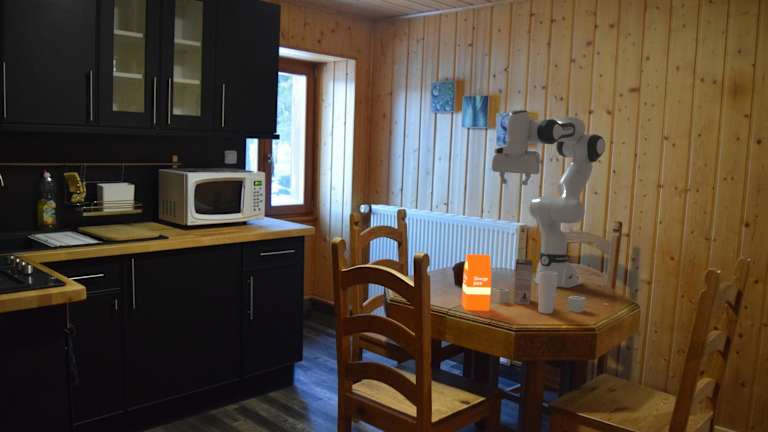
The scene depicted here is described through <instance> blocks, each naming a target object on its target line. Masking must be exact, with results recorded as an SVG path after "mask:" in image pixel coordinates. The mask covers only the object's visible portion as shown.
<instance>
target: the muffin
mask: <svg viewBox="0 0 768 432" xmlns="http://www.w3.org/2000/svg"><path fill="white" fill-rule="evenodd" d="M465 261H466V260H464V261H459V262H456V263H455V264H454V265H453V266H452V268H451V270H452V272H453V273H452V274H453V280H454V285H455V286H457V287H462V288H463V275H464V265H465Z"/></svg>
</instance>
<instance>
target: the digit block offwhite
mask: <svg viewBox="0 0 768 432" xmlns="http://www.w3.org/2000/svg"><path fill="white" fill-rule="evenodd" d="M566 303H567V305H566V311H568V312H572V311H573V312H572V313H577V312H578V314H580V312H581V313H582V311H583V312H584V310H585V311H586V309H585V308H586V297H584V296H578V295H577V296H576V295H570V296H568V297H567V302H566Z"/></svg>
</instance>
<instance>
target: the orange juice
mask: <svg viewBox="0 0 768 432" xmlns="http://www.w3.org/2000/svg"><path fill="white" fill-rule="evenodd" d="M464 261H465V265H464V275H463V287H462V296H461V306H462V307H463V308H464V310H465V311H486V312H487V311H490V303H491V292H492V287H491V285H492V264H491V255H490V254H471V253H470V254H466V257H465V260H464Z"/></svg>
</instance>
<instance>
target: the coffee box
mask: <svg viewBox="0 0 768 432" xmlns="http://www.w3.org/2000/svg"><path fill="white" fill-rule="evenodd" d="M514 269H515V270H514V282H513V283H514V286H513V304H518V305H530V304H531V291H532V290H531V289H532V277H533V260H532V259H523V258H522V259H520V258H519V259H517V258H516V259H515V267H514Z"/></svg>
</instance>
